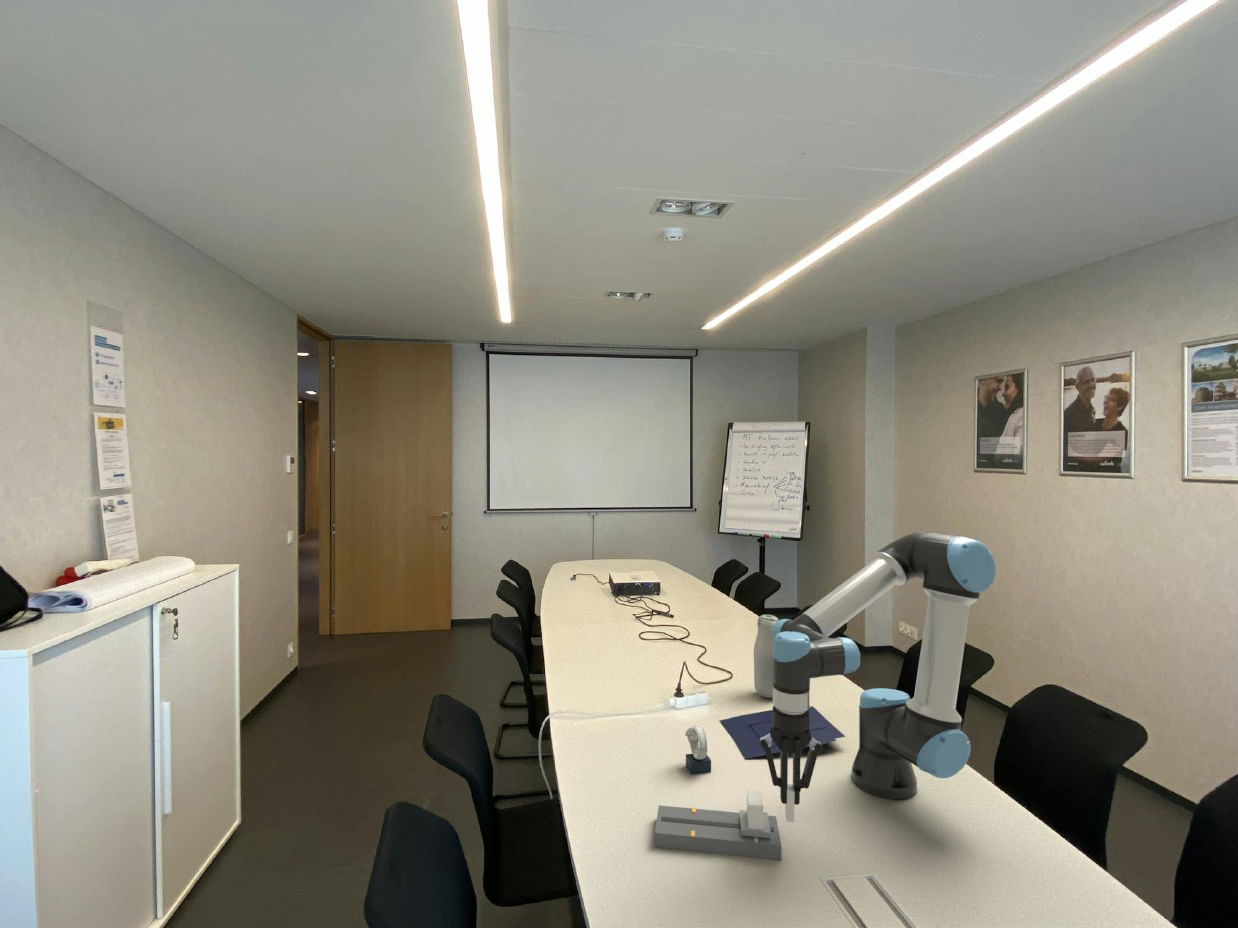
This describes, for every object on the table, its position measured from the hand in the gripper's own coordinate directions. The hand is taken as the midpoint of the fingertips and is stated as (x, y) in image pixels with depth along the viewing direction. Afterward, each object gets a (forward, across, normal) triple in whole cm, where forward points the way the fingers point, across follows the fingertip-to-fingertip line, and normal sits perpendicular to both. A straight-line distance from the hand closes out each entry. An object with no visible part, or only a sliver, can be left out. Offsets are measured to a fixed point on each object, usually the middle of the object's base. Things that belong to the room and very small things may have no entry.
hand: (789, 817), depth 127 cm
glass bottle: (+6, -3, -80) cm, 80 cm away
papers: (+6, -4, -50) cm, 51 cm away
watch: (+6, +20, -28) cm, 35 cm away
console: (+6, +15, 0) cm, 16 cm away
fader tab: (+3, +7, 0) cm, 8 cm away
